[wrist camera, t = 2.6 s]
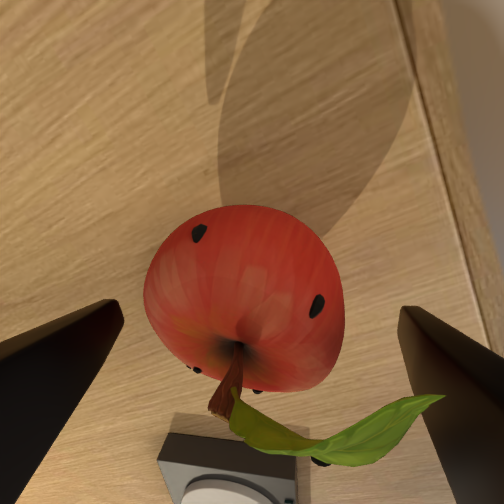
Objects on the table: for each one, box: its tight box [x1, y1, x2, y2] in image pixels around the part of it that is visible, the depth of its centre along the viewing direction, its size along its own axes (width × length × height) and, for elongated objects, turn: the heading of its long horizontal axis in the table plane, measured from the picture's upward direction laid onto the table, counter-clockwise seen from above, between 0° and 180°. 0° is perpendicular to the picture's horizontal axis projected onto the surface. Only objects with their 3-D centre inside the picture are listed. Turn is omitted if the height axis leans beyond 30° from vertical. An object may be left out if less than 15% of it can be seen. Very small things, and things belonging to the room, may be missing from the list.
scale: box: [157, 433, 298, 504], centre depth 22 cm, size 10×10×3 cm
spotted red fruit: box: [143, 205, 446, 467], centre depth 9 cm, size 8×7×10 cm
